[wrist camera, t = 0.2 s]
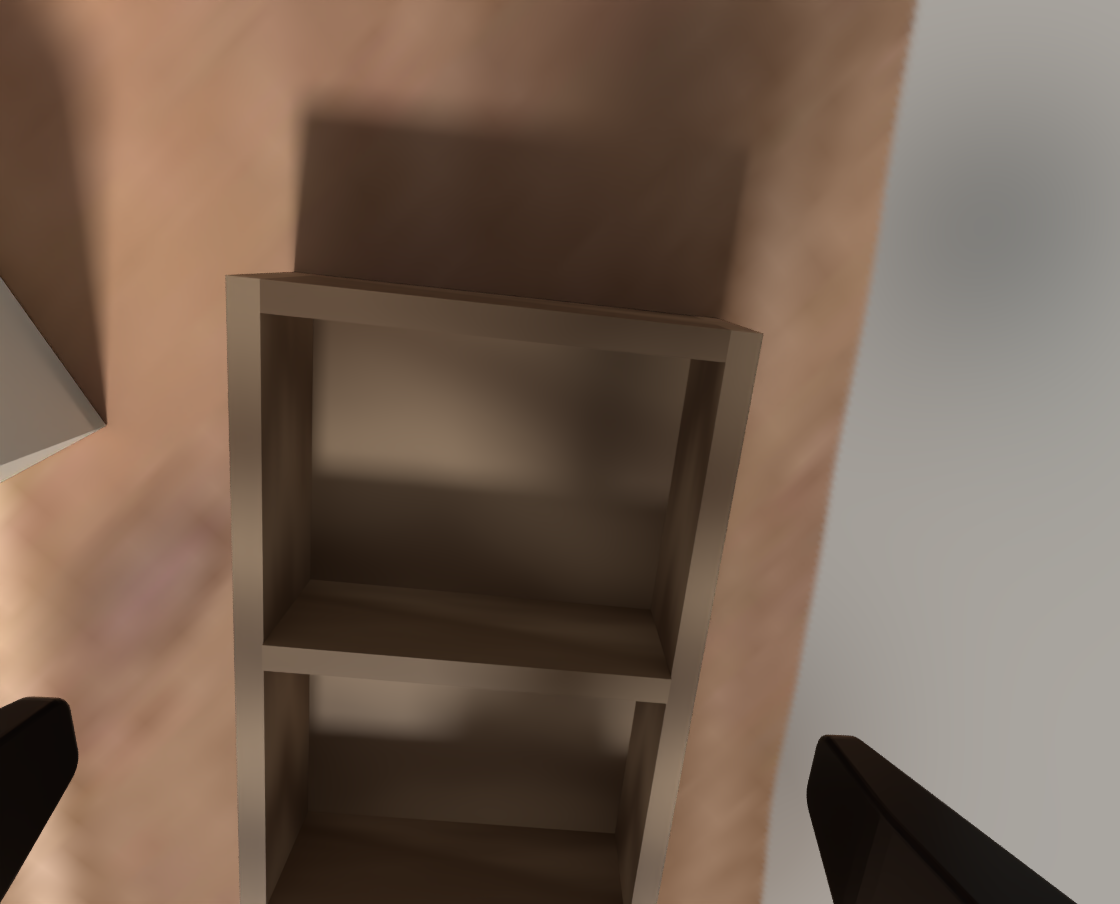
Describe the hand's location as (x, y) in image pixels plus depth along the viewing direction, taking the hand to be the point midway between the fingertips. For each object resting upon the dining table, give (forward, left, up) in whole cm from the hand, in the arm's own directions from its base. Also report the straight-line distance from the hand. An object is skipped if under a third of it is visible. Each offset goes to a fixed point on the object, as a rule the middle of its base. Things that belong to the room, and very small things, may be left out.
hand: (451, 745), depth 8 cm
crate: (-5, 0, -14) cm, 15 cm away
